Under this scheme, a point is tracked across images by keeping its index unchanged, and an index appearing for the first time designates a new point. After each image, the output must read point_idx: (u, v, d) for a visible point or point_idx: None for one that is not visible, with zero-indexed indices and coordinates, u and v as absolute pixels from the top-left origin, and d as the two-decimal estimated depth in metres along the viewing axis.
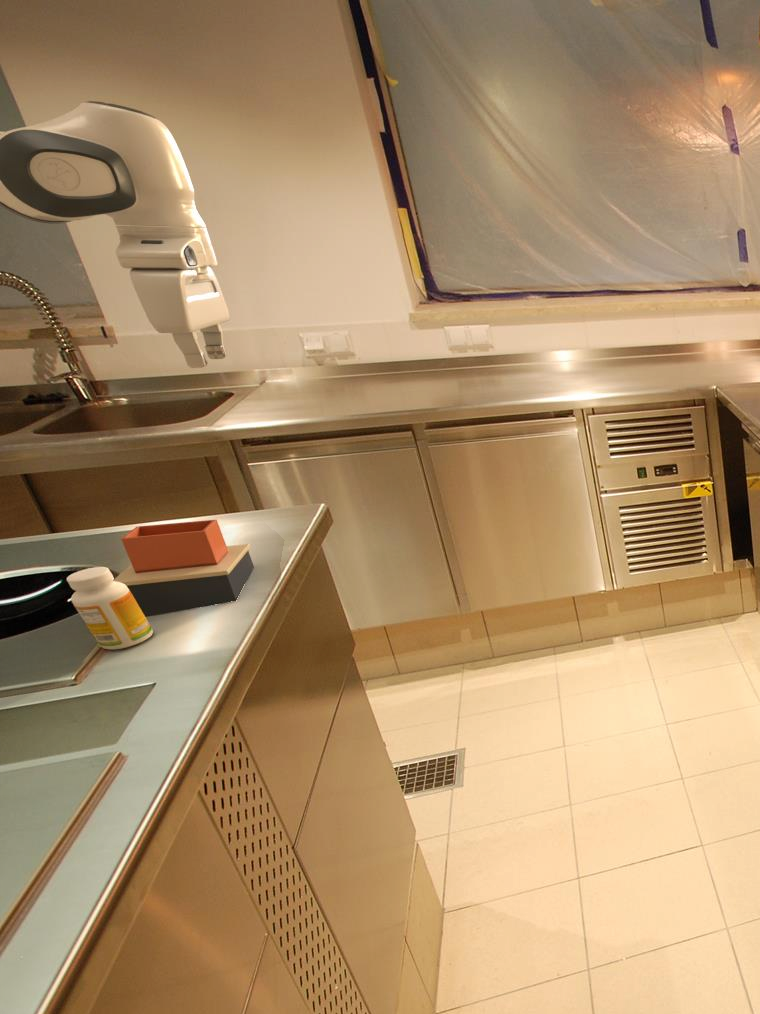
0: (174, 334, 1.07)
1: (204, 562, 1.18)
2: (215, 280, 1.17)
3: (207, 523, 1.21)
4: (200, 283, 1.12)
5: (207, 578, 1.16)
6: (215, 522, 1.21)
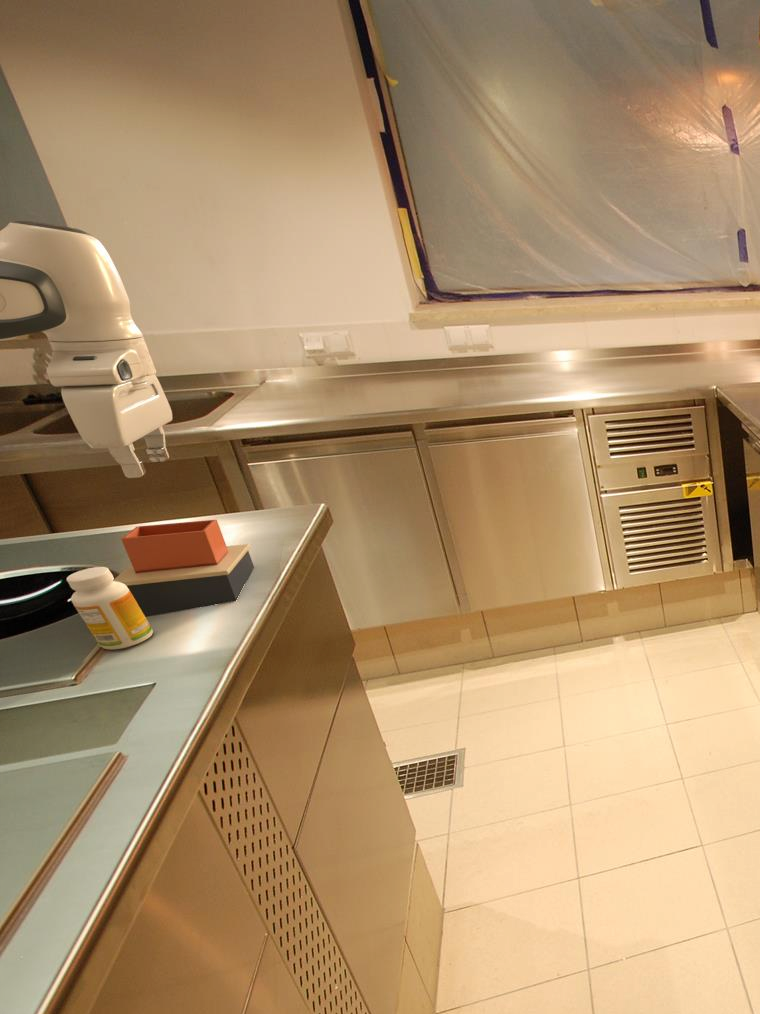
0: None
1: (204, 562, 1.18)
2: (156, 382, 1.17)
3: (207, 523, 1.21)
4: (138, 390, 1.12)
5: (207, 578, 1.16)
6: (215, 522, 1.21)
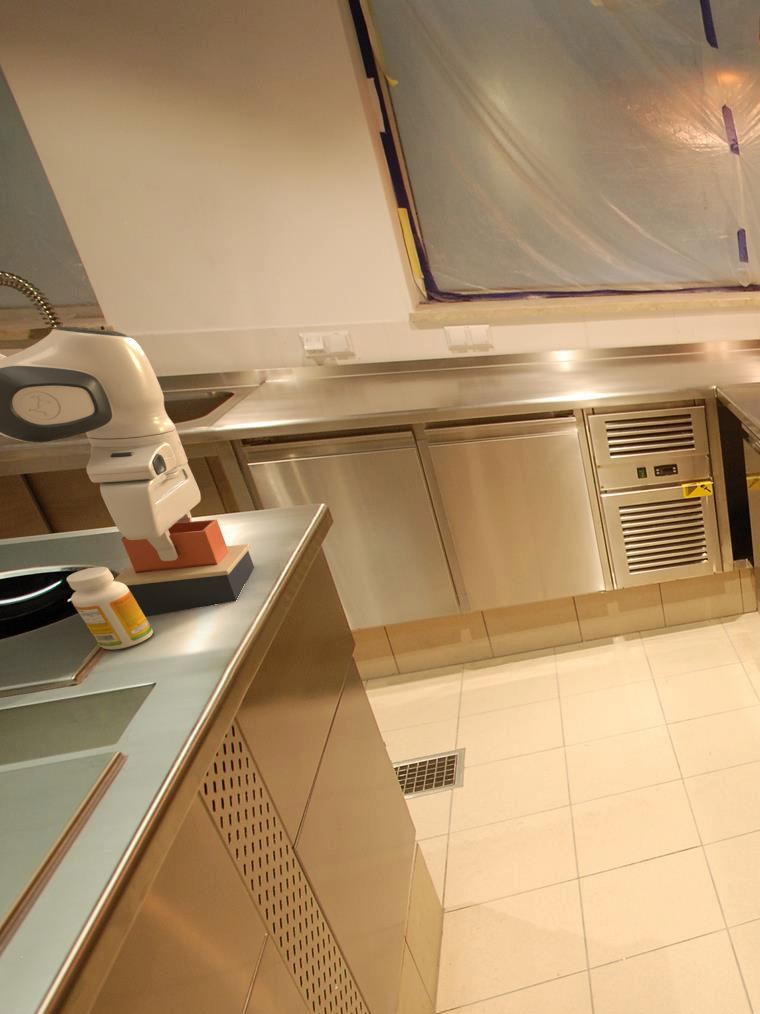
0: None
1: (204, 562, 1.18)
2: (186, 467, 1.22)
3: (207, 523, 1.21)
4: None
5: (207, 578, 1.16)
6: (215, 522, 1.21)
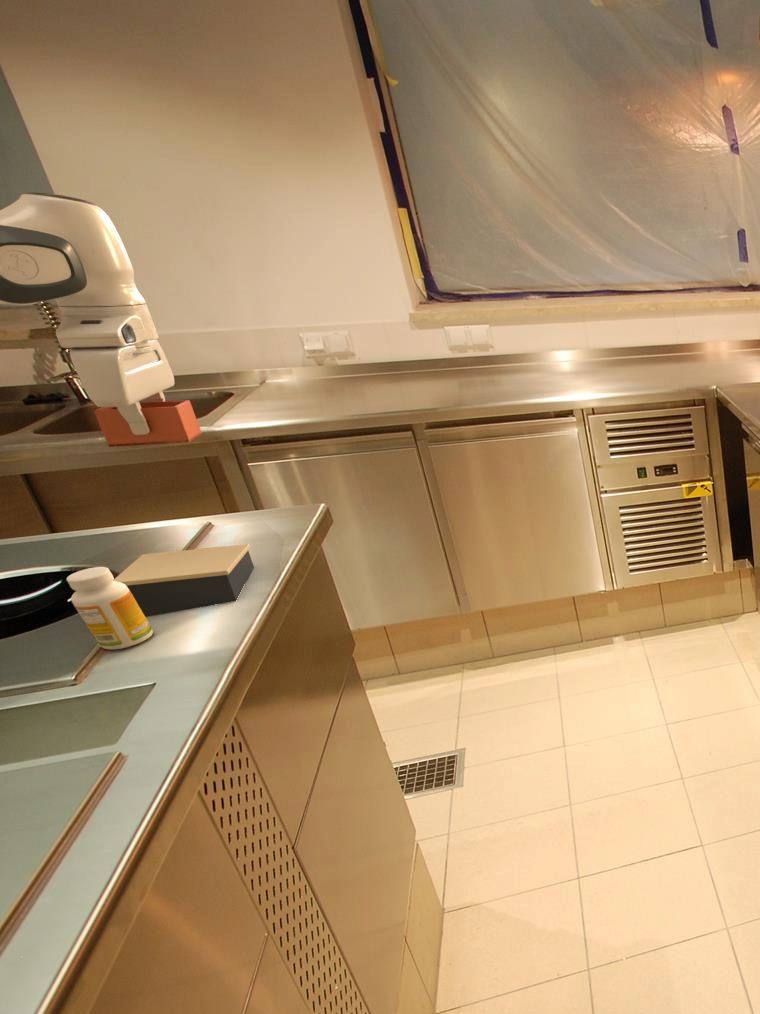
0: None
1: (176, 439, 1.20)
2: (159, 349, 1.24)
3: (180, 403, 1.23)
4: (142, 355, 1.19)
5: (207, 578, 1.16)
6: (188, 402, 1.23)
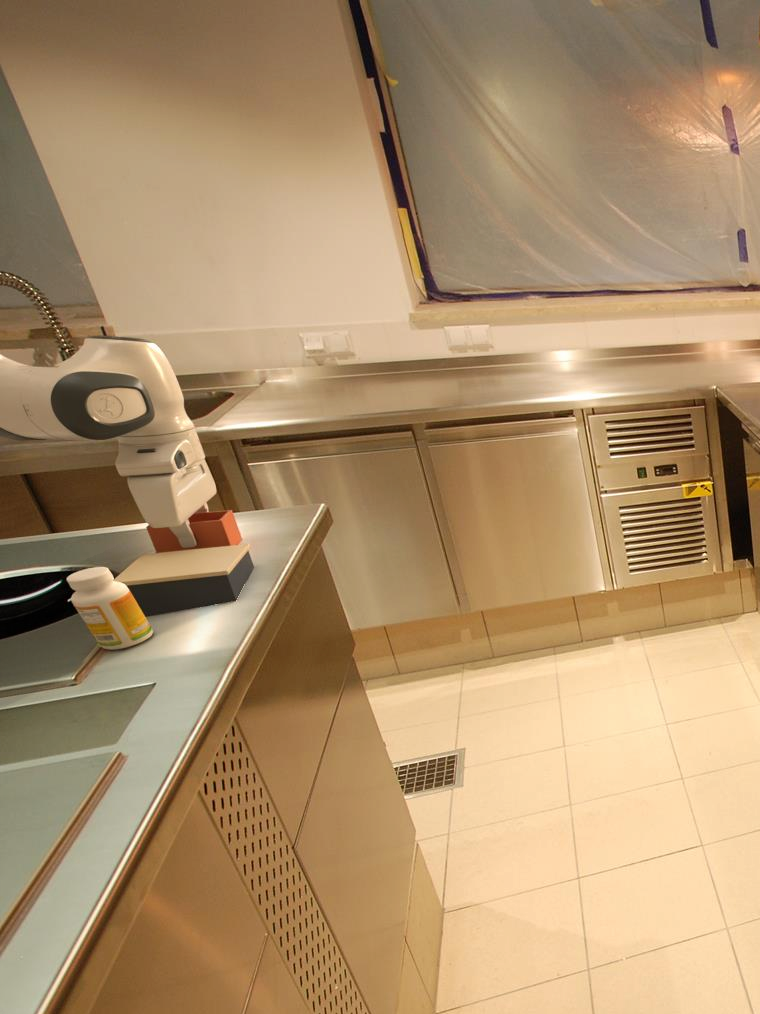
0: None
1: None
2: (203, 462, 1.33)
3: (223, 513, 1.32)
4: None
5: (207, 578, 1.16)
6: (230, 512, 1.32)
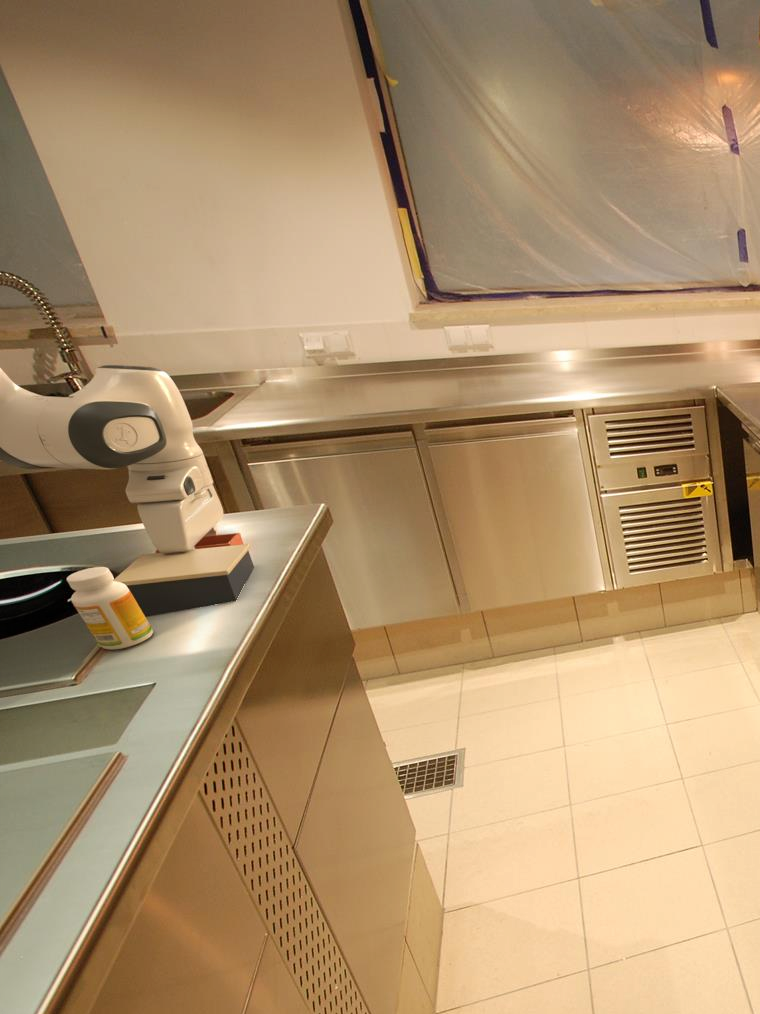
0: None
1: None
2: (211, 486, 1.35)
3: (231, 536, 1.34)
4: None
5: (207, 578, 1.16)
6: (238, 535, 1.34)
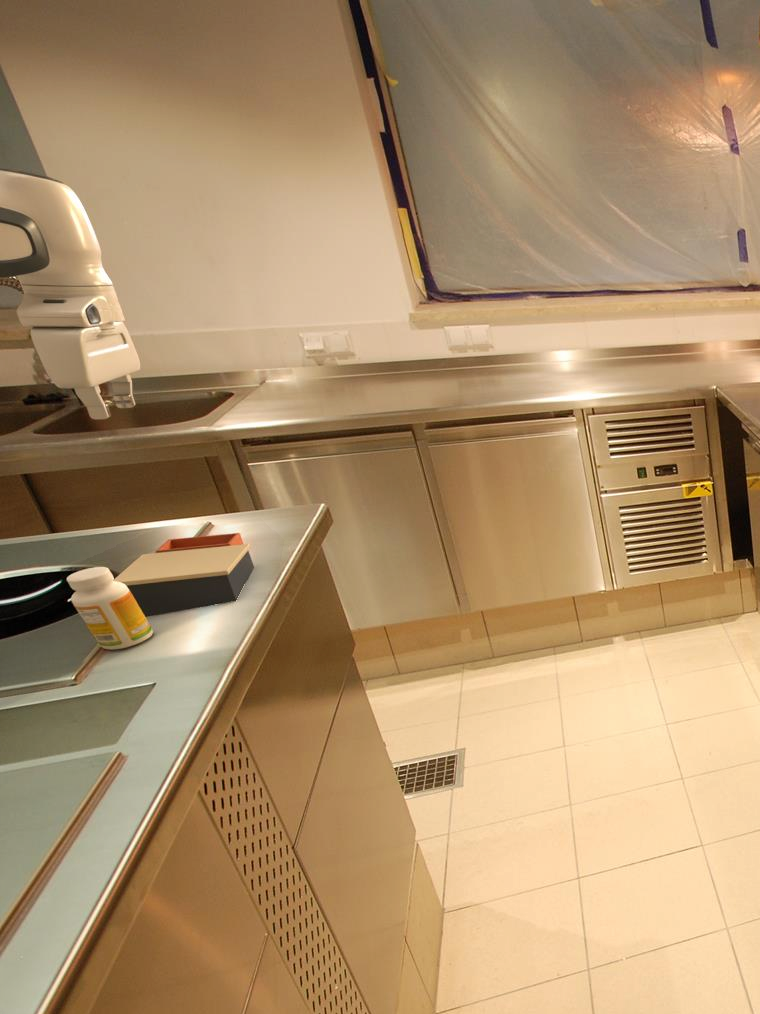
0: (76, 388, 1.11)
1: None
2: (125, 332, 1.21)
3: (231, 536, 1.34)
4: (107, 337, 1.16)
5: (207, 578, 1.16)
6: (238, 535, 1.34)
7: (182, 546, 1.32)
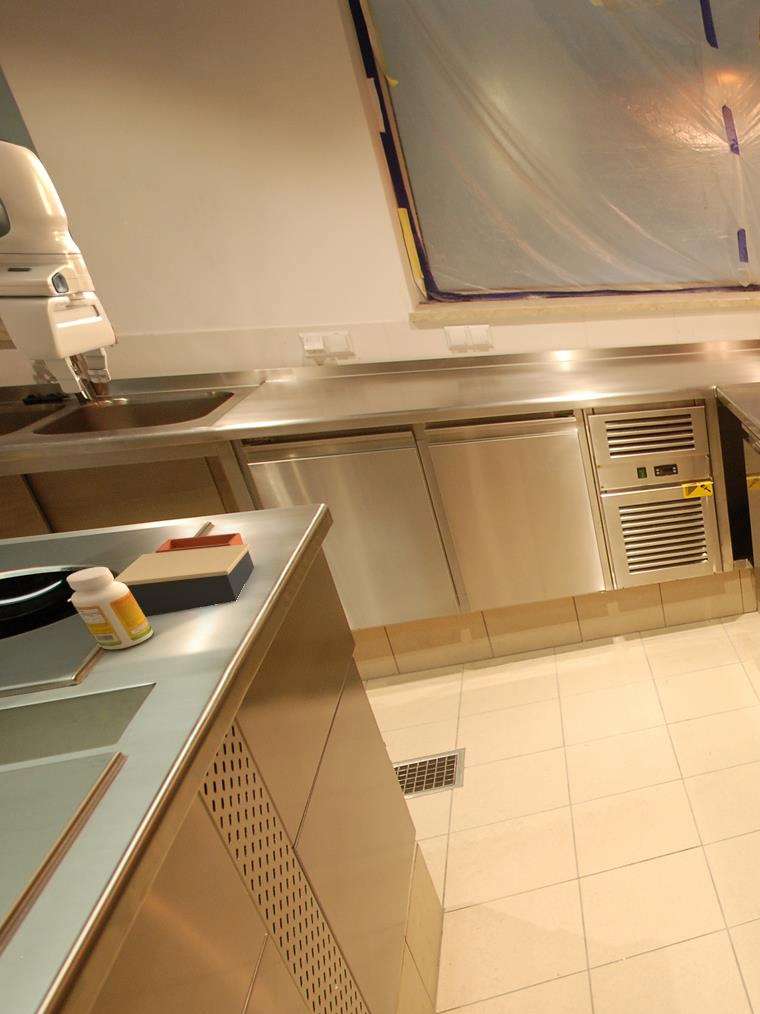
0: (46, 360, 1.08)
1: None
2: (98, 304, 1.18)
3: (231, 536, 1.34)
4: (78, 308, 1.13)
5: (207, 578, 1.16)
6: (238, 535, 1.34)
7: (182, 546, 1.32)
